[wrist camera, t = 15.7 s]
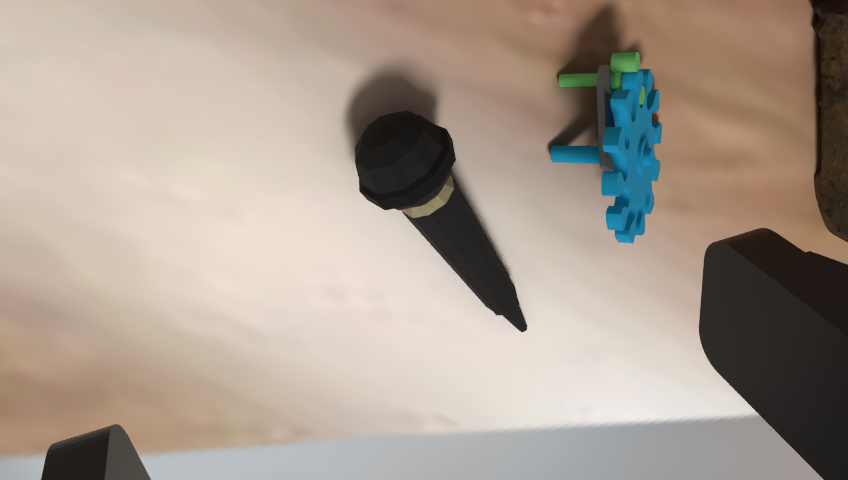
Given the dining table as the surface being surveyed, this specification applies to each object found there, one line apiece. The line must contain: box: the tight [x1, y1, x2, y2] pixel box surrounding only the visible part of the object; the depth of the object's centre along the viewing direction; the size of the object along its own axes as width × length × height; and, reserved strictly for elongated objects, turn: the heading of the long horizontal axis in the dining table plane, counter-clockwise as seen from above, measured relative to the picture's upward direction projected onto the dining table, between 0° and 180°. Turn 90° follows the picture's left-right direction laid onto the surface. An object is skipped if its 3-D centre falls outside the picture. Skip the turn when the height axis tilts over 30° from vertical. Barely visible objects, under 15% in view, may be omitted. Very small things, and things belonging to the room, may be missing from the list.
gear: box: [551, 52, 662, 243], centre depth 42 cm, size 11×6×10 cm
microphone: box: [355, 111, 527, 332], centre depth 44 cm, size 6×6×20 cm
